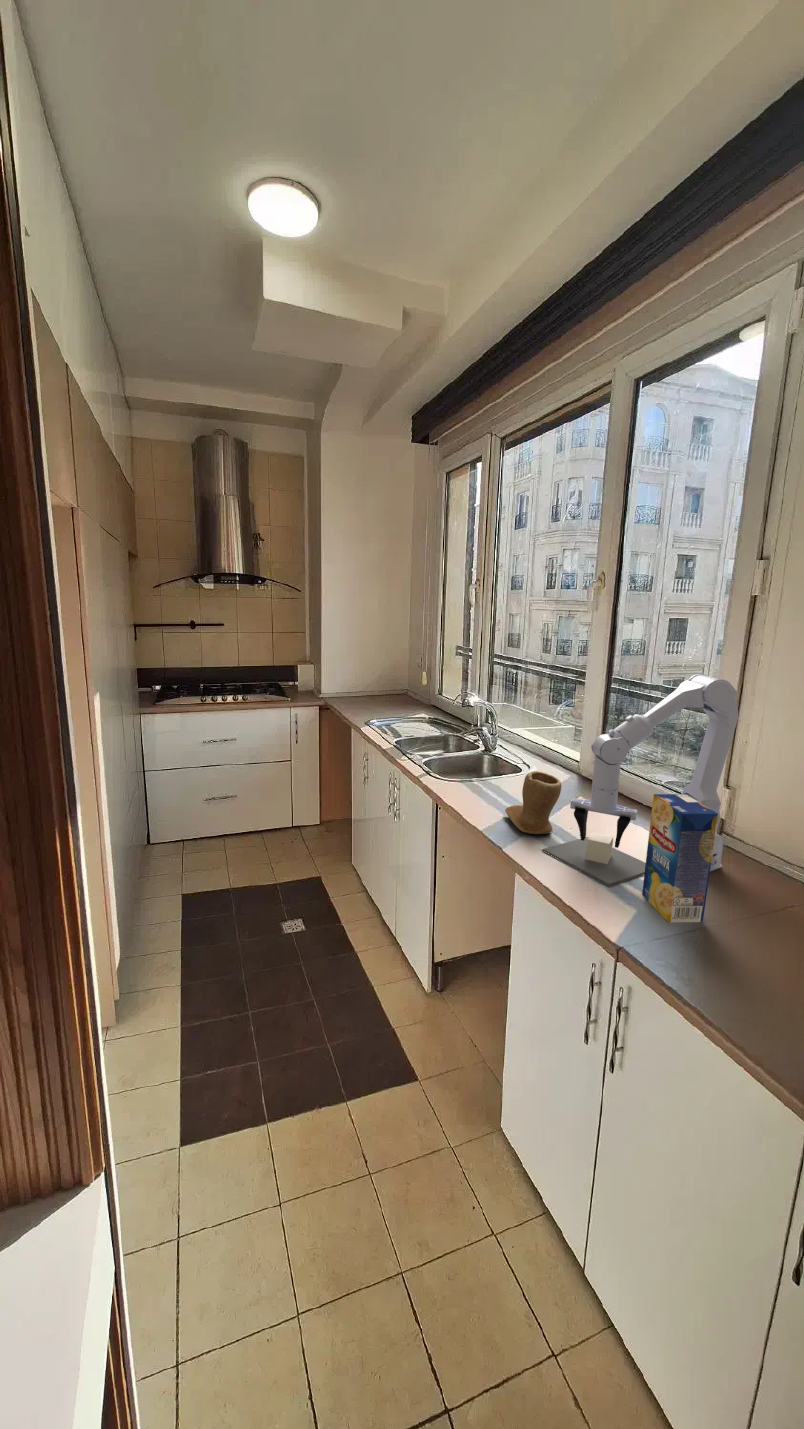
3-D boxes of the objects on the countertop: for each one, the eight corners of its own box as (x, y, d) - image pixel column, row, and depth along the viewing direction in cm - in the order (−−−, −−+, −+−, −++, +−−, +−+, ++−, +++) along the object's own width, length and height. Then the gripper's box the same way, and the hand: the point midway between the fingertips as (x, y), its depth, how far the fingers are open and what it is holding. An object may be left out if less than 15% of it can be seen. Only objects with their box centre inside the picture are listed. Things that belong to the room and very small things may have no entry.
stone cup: (564, 837, 151) (568, 781, 148) (518, 838, 150) (522, 782, 147) (545, 816, 166) (549, 764, 163) (503, 816, 165) (507, 764, 162)
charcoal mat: (656, 870, 134) (657, 867, 134) (609, 886, 126) (609, 883, 126) (588, 838, 151) (588, 836, 150) (542, 851, 142) (542, 848, 142)
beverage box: (673, 893, 123) (686, 794, 119) (703, 922, 113) (718, 813, 108) (641, 894, 123) (653, 794, 118) (668, 922, 112) (682, 813, 108)
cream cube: (611, 856, 139) (613, 836, 138) (607, 864, 135) (609, 844, 134) (589, 851, 142) (591, 832, 141) (585, 859, 137) (587, 839, 136)
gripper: (641, 787, 135) (635, 843, 137) (577, 777, 141) (572, 830, 144) (636, 796, 129) (630, 854, 131) (570, 785, 135) (565, 840, 138)
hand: (599, 842), depth 137 cm, fingers open, 7 cm apart
